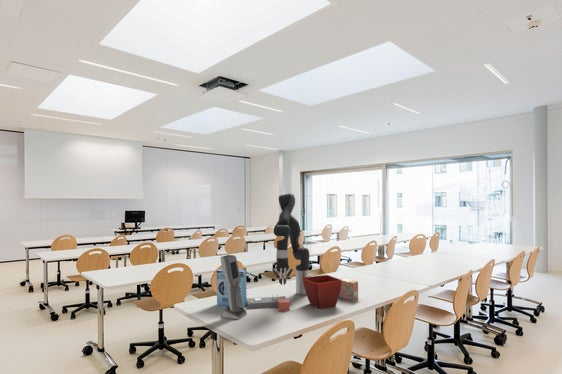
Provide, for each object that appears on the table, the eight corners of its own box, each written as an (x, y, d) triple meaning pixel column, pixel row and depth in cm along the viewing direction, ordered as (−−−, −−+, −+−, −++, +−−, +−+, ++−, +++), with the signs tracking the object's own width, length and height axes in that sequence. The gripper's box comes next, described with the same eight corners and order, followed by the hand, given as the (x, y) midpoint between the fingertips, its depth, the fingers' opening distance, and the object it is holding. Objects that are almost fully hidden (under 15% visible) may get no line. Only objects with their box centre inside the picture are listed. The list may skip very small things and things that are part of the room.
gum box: (246, 305, 222) (246, 270, 223) (243, 307, 217) (243, 271, 218) (220, 303, 228) (219, 268, 229) (216, 305, 223) (216, 270, 224)
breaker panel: (284, 300, 231) (284, 294, 232) (288, 305, 220) (288, 299, 220) (246, 303, 227) (246, 297, 227) (247, 308, 215) (247, 302, 215)
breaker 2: (278, 298, 227) (278, 294, 227) (279, 300, 222) (279, 296, 222) (272, 298, 227) (272, 295, 227) (273, 301, 222) (273, 297, 222)
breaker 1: (260, 301, 225) (260, 298, 225) (261, 303, 220) (261, 300, 220) (254, 302, 224) (254, 298, 225) (255, 304, 219) (255, 300, 220)
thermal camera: (229, 311, 210) (228, 254, 211) (247, 313, 205) (247, 255, 207) (218, 317, 199) (218, 257, 201) (238, 320, 194) (237, 258, 196)
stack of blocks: (327, 295, 243) (327, 278, 244) (332, 293, 248) (332, 276, 248) (353, 301, 229) (353, 282, 229) (358, 299, 233) (358, 280, 234)
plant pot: (302, 302, 226) (302, 277, 226) (327, 299, 233) (326, 274, 234) (316, 311, 208) (316, 283, 209) (343, 307, 215) (342, 280, 216)
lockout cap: (287, 306, 219) (287, 298, 219) (289, 310, 211) (289, 301, 211) (277, 307, 217) (277, 299, 218) (279, 310, 210) (279, 302, 210)
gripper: (291, 255, 220) (292, 282, 220) (270, 256, 218) (271, 283, 217) (294, 257, 213) (294, 285, 212) (272, 258, 211) (272, 286, 210)
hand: (282, 284), depth 215 cm, fingers closed
